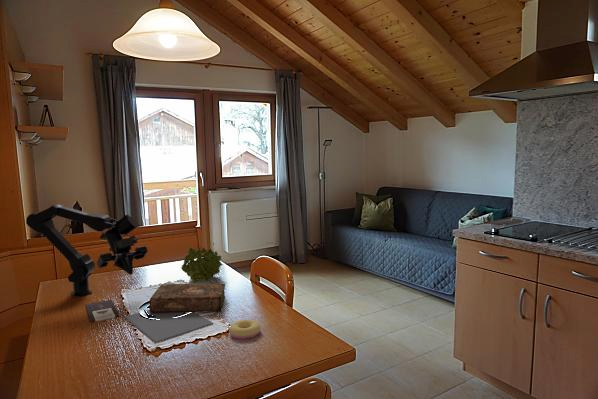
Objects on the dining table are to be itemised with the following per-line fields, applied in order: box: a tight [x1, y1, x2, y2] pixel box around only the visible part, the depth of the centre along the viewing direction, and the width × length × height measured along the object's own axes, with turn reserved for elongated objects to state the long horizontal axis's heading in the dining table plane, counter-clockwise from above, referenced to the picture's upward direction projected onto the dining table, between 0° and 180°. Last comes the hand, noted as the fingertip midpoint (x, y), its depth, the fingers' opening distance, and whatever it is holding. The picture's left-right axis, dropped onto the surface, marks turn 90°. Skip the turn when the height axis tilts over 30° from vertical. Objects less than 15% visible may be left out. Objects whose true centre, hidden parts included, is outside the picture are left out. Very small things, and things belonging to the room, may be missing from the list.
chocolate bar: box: [85, 299, 120, 323], centre depth 151 cm, size 9×1×18 cm
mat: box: [124, 309, 214, 344], centre depth 142 cm, size 26×20×1 cm
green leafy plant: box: [180, 247, 223, 284], centre depth 185 cm, size 18×16×16 cm
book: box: [148, 283, 226, 313], centre depth 155 cm, size 16×6×25 cm
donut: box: [228, 319, 262, 340], centre depth 132 cm, size 10×5×9 cm
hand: (131, 274), depth 160 cm, fingers closed
